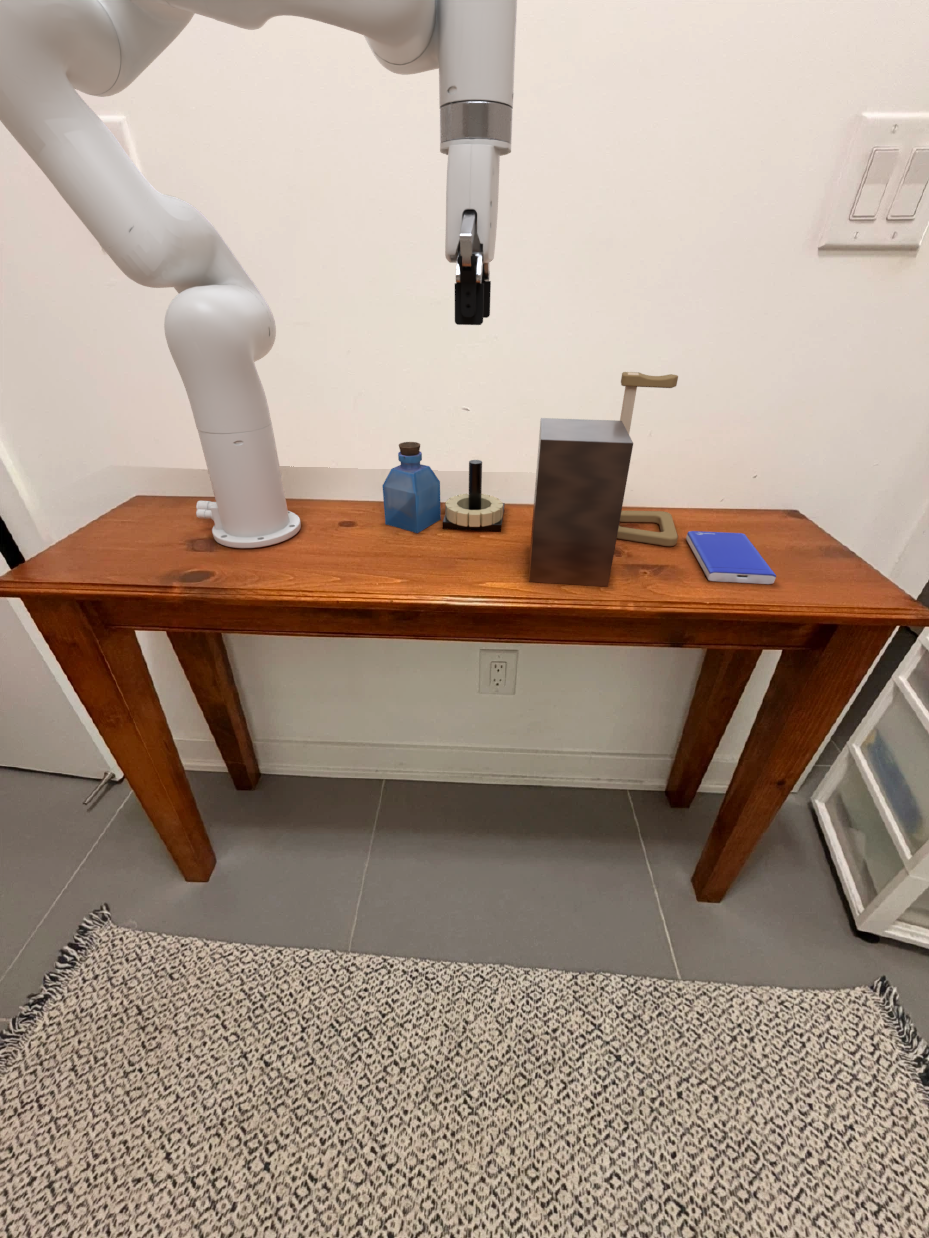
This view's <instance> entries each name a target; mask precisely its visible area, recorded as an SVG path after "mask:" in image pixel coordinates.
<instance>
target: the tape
mask: <svg viewBox="0 0 929 1238" xmlns="http://www.w3.org/2000/svg"><path fill="white" fill-rule="evenodd" d="M503 503H504V502H503V501H502V500H501V499H500V498H499V497H496V496H494V495H491V494H485V493H481V510H468V506H469V493H460V494H456V495H454V496H451V497H449V498H448V499H446V501H445V503H444V507H445V508H444V509H445V511H444V512H445V513H444V517H445V516H446V518H447V520H449V521H450V522H452V523H454V524H457V525H461V526H466V527H467V526H468V525H469V527H480V525H481V526H482V527H483V526H488V525H492V524H495V523H497V522H499V521H500V520H501V519H502V516H503V517H504V515H503Z"/></svg>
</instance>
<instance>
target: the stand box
mask: <svg viewBox="0 0 929 1238" xmlns="http://www.w3.org/2000/svg"><path fill="white" fill-rule="evenodd" d="M538 433H539V434H538V435H539V436H538V446H537V461H536V473H535V485H534V495H533V496H534V498H533V508H532V510H533V511H532V522H531V535H530V547H529V575H528V582H529V583H541V584H557V585H572V586H573V585H574V586H589V587H590V586H592V587H606V588H608V587H609V584H610V580H611V573H612V568H613V562H614V557H615V551H616V545H617V540H618V539H617V534H618V528H619V526H620V523H621V522H620V517H621V511H623V505H624V500H625V493H626V488H627V481H628V478H629V477H628V476H629V470H630V465H631V459H632V454H633V448H634V442H633V440H632V438H631V436H630V433H629V434H628V432H627V430H626V428H625V426H624V424H623V422H622V421H620V420H615V419H614V420H612V419H611V420H610V419H586V418H585V419H584V418H583V419H582V418H581V419H579V418H553V417H552V418H551V417H540V421H539V432H538Z"/></svg>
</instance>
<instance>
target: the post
mask: <svg viewBox="0 0 929 1238" xmlns="http://www.w3.org/2000/svg"><path fill="white" fill-rule="evenodd" d="M482 486H483V461H482V460H481V459H471V460H469V461H468V495H469V506H468V510H481V494H483V493H482V492H483V491H482V490H483V489H482ZM505 505H506V504H505V502H503V516H502V519H501V520H500V521H499V522H497V523H495V524H492V525H488V526H483V527H482V526H481V525H480V527H469V525H468V526H467V527H466V526H461V525H457V524H454V523H452V522H450V521H449V520H447V518H446V516H445V515H444V517H443V519H442V530H457V531H475V532H476V531H477V532H493V533H502V528H503V522H504V516H505V515H504V514H505V507H506V506H505Z"/></svg>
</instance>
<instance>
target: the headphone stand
mask: <svg viewBox="0 0 929 1238" xmlns="http://www.w3.org/2000/svg"><path fill="white" fill-rule="evenodd" d="M678 381H679V375H677V374H671V373H670V374H665V375H649V374H644V373H642V372H637V371H636V372H635V371H623V372H622V373H621V378H620V386H622V387H624V392H623V398H622V404H621V412H620V418H619V421H622V422H623V424H624V426H625V428H626V430H627V432H628V434H629V435H630V432H631V426H632V420H633V413H634V408H635V402H636V396H637V389H638V388H659V389H673V388H676V387H677V384H678ZM619 523H645V524H647V523H649V524H651V523H652V524H657V525H659V530H660V531H652V530H646V529H639V528H633V527H625V526H621V525H619V528H618V534H617V540H623V541H629V542H636V543H641V544H648V545H656V546H661V547H673V546H676V545H677V543H678V538H679V536H678V532H677V529H676V525H675V523H674V519H673V516H672V514H671V513H670V512H667V511H663V510H622V511H621V517H620V522H619Z"/></svg>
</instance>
